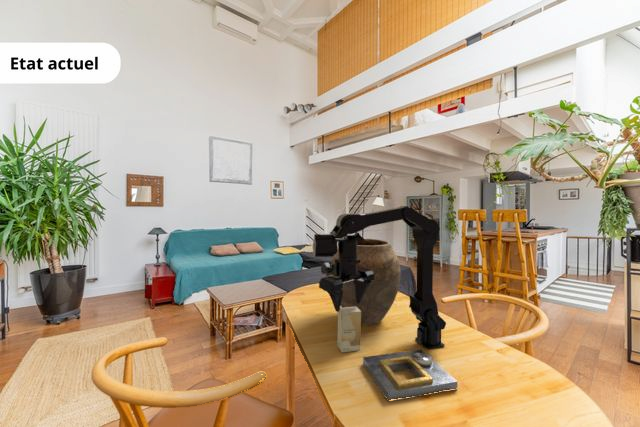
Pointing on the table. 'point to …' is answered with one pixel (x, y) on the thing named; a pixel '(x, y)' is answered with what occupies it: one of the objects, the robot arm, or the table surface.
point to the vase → (382, 287)
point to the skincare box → (349, 329)
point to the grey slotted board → (420, 366)
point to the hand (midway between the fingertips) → (348, 307)
